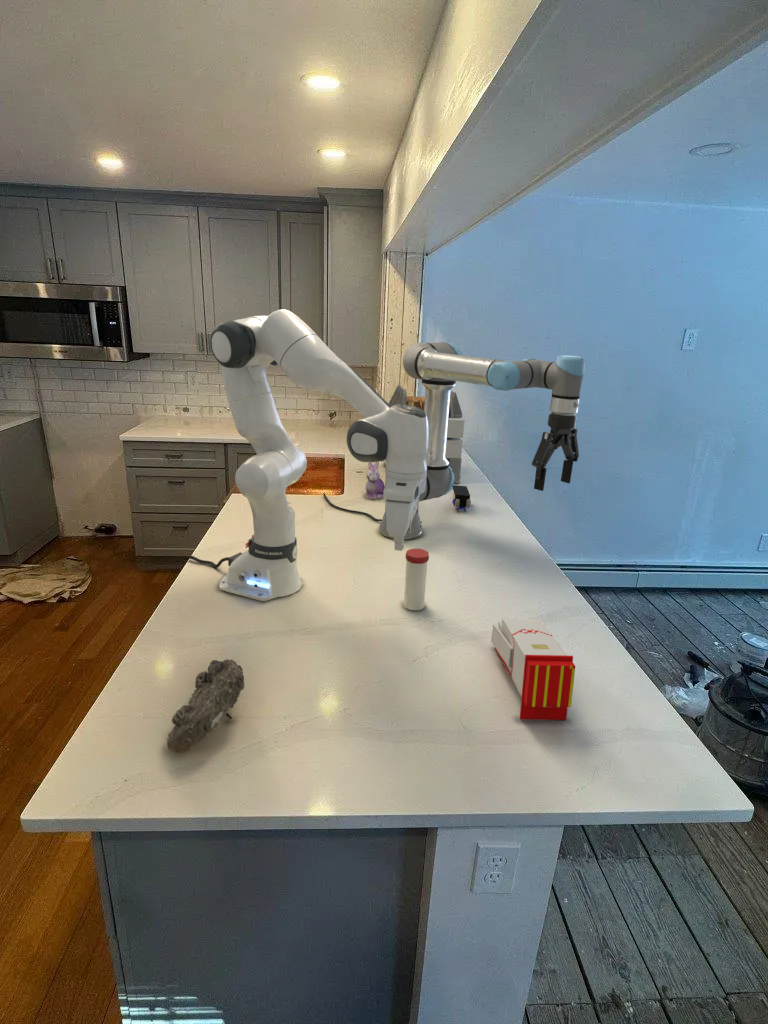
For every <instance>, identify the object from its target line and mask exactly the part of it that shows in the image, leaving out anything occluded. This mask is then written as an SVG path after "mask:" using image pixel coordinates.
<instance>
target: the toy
mask: <svg viewBox="0 0 768 1024" xmlns="http://www.w3.org/2000/svg"><path fill="white" fill-rule="evenodd" d="M490 638H491V639H490V642H491V644H492V646H493V647H494V650H495V652H496V654H497V655H498V657H499V659H500V660H501V662H502V664H503V666H504V667H505V669H506V671H507V672H508V674H509V676H510V677H511V679H512V681H513V683H514V685H515V688H516V690H517V691H518V693H519V695H520V697H521V698H520V710H519V719H520V720H534V721H535V720H539V721H567V716H568V708H572V701H573V692H574V684H575V674H576V673H575V672H576V665H575V663H574V656H573V655H568V654H567V653H566V652H565V650H564V649H563V648H562V646H561V645H560V644H559V643H558V641H557V640H556V639H555V637H554V636H553V634H552V633H551V632H550V631H549V629H548V628H547V626H546V624H545V623H543V621H542V620H541V619H540V618H505V617H503V618H501V620H498V622H497V624H495V623H493V624H492V632H491V637H490Z"/></svg>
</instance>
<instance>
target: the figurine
mask: <svg viewBox="0 0 768 1024" xmlns="http://www.w3.org/2000/svg"><path fill="white" fill-rule="evenodd" d="M367 463H368V464H367V465H368V471H367V473H366V478H367V482H366V484H365V491H366V492H365V496H364V497H366V499H368V500H377V499H378V500H379V499H383V493H384V488H385V482H384V481H383V480H382V479H381V473H380V471H379V466H380V462H374V464H373V462H367Z"/></svg>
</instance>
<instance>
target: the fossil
mask: <svg viewBox="0 0 768 1024" xmlns="http://www.w3.org/2000/svg"><path fill="white" fill-rule="evenodd" d="M243 670H244V669H243V667H242V665H240V664H237V662H236V661H235V660H234V659H232V658H231V659H227V658H226V659H224V660H223V661H222V660H217V659H212V660H211V661H210V663H209V665H208V666H207V671H201V672H199V673H198V674H197V675H196V676H195V680H194V684H195V685H194V687H195V689H194V690H193V693H192V694H191V697H190V698H189V700H188V704H184V705H182V706H181V707H180V709H177V710H176V711H175V713H174V715H173V716H172V718H171V723H172V724H173V727H172V730H171V731H170V732H168V734H167V738H166V741H167V742H166V745H167V749H168V750H169V751H173V752H174V753H176V754H178V753H182V752H188V751H189V752H192V751H193V750H195V748H196V747H197V746H199V744H200V743H201V742H203V741H204V740H205V739H206V738H207V737H208V736H209V735H210V734H211V733H212V732H214V730H215V729H217V727H218V726H219V724H220V722H221V721H222V720H223V719H224V718H225V716H226V717H227V719H229V720H233V717H232V715H230V714H229V710H230V709H231V708H234V706H235V704H236V703H237V702H238V699H239V697H240V695H241V693H242V691H243V690H245V689H244V688H245V675H244V671H243Z"/></svg>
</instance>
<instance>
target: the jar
mask: <svg viewBox="0 0 768 1024" xmlns="http://www.w3.org/2000/svg"><path fill="white" fill-rule="evenodd" d="M405 560H406V559H405ZM405 562H406V563H405V575H404V577H405V578H404V595H403V607H404V608H405V609H407V610H410V611H421V610H423V609H424V608H425V598H426V586H427V585H426V584H427V573H428V561H427V562H425V563H421V564H417V563H411V562H409V561H407V560H406V561H405Z"/></svg>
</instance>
